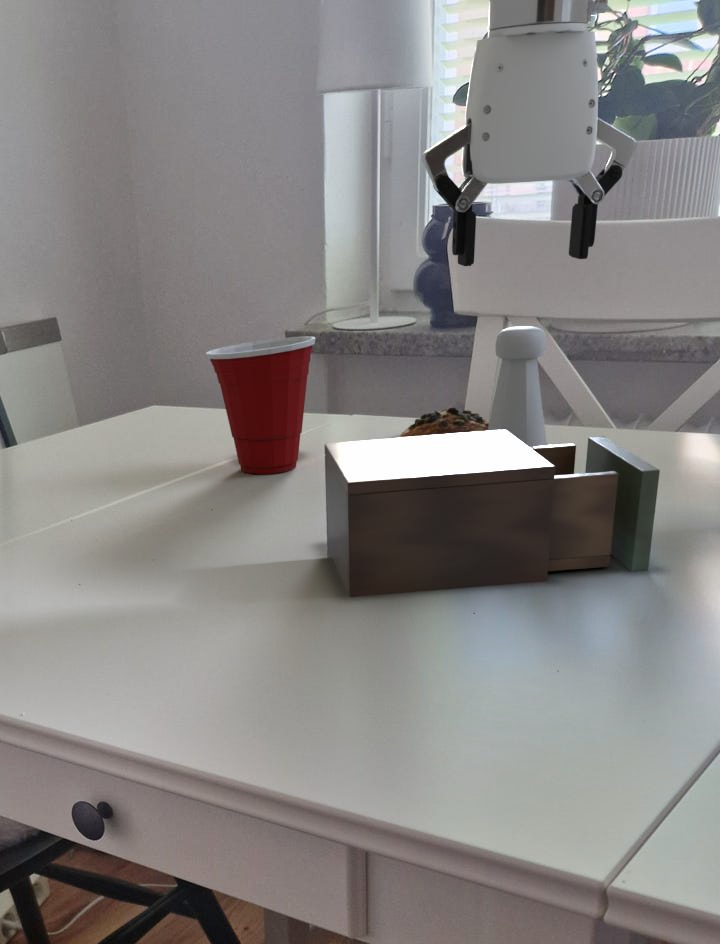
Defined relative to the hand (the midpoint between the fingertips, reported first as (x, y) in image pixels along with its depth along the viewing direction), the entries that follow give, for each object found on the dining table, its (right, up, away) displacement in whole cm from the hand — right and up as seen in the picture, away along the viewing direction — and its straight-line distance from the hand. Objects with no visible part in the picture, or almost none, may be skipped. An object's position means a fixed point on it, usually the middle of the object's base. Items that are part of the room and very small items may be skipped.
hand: (521, 261), depth 99 cm
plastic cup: (-21, -11, +20) cm, 31 cm away
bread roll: (-2, -9, +21) cm, 23 cm away
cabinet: (-10, -30, -14) cm, 34 cm away
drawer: (-2, -28, -14) cm, 32 cm away
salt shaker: (+2, -16, +9) cm, 18 cm away
